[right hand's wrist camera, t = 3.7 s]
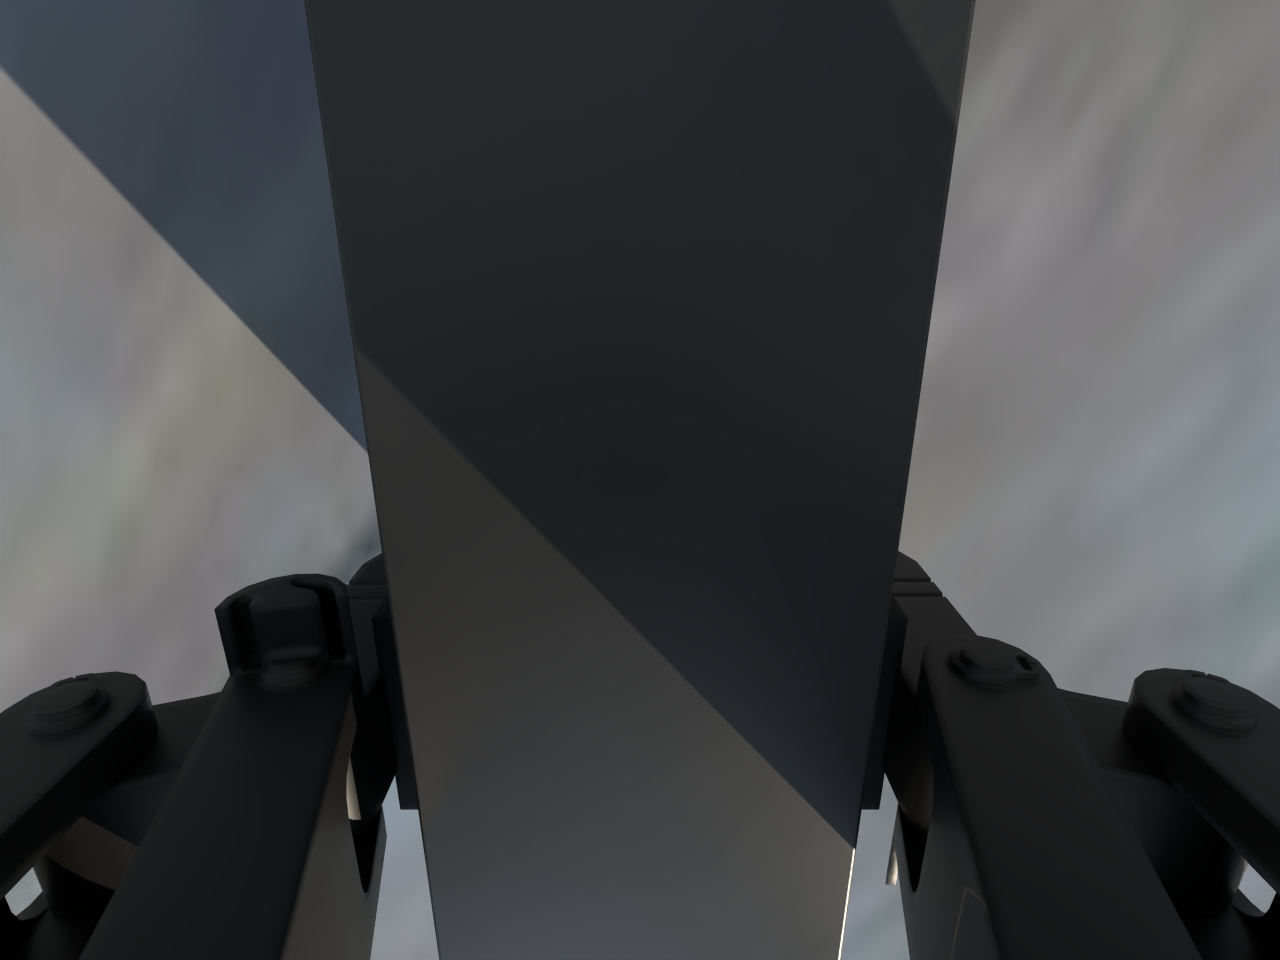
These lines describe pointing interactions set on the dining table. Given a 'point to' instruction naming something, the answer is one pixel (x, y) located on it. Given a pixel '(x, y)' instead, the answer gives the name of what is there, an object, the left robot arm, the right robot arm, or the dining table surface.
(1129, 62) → the dining table surface
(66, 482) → the dining table surface
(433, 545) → the bar
